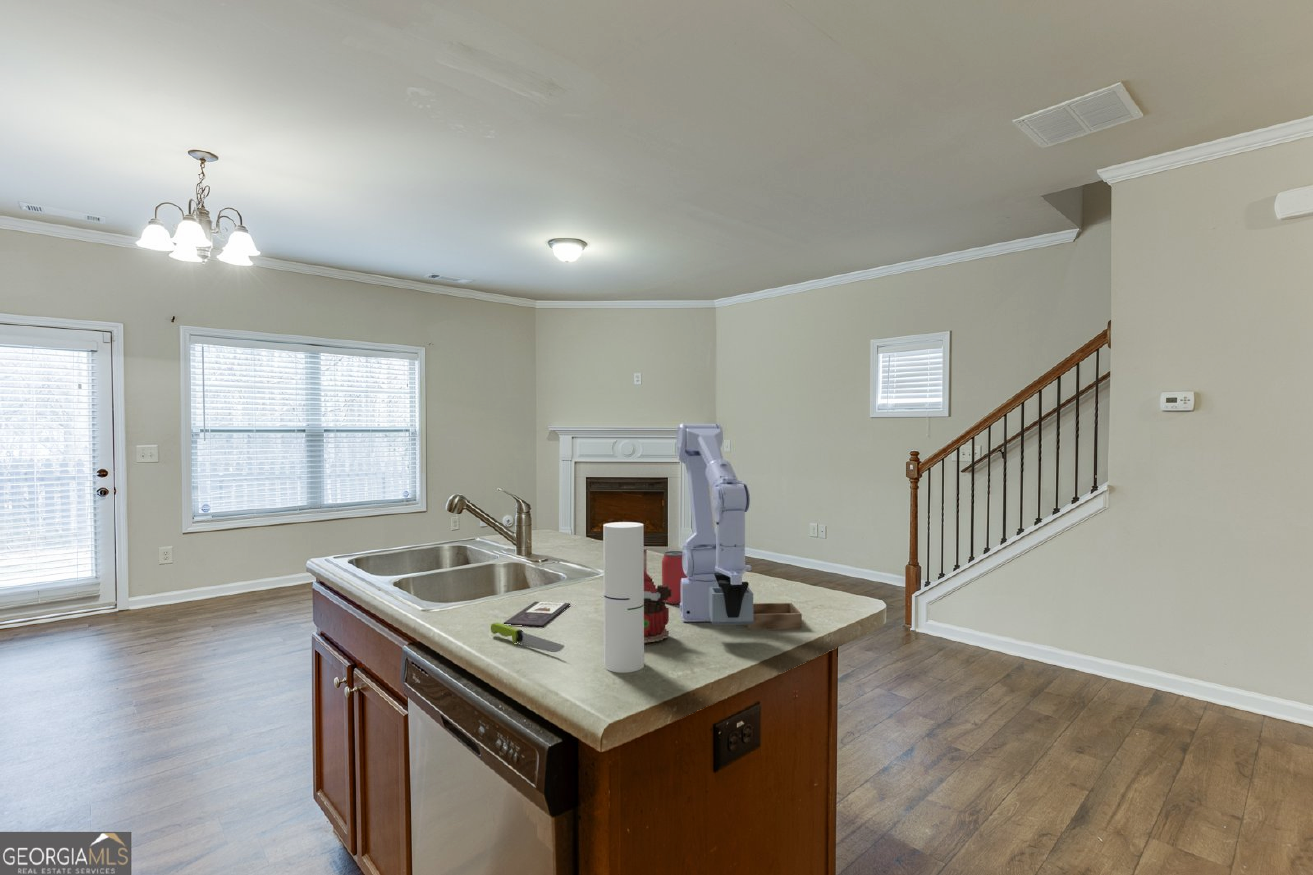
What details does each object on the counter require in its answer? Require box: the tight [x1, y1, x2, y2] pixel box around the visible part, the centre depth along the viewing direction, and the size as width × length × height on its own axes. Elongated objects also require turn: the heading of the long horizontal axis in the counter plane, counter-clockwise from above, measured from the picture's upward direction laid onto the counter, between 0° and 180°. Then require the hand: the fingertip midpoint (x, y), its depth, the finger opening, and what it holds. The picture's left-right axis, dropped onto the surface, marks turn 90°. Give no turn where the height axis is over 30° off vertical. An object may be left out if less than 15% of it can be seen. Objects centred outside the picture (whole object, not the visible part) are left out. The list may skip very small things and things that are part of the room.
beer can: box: [661, 550, 689, 605], centre depth 156 cm, size 7×7×12 cm
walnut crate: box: [744, 602, 803, 631], centre depth 137 cm, size 11×9×4 cm
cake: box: [644, 548, 671, 644], centre depth 127 cm, size 11×9×18 cm
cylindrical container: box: [602, 521, 645, 674], centre depth 112 cm, size 7×7×25 cm
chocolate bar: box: [503, 601, 571, 628], centre depth 144 cm, size 9×1×18 cm
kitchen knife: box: [490, 622, 565, 653], centre depth 122 cm, size 22×1×3 cm, turn 50°
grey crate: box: [709, 586, 754, 626], centre depth 125 cm, size 8×5×6 cm
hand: (730, 612), depth 125 cm, fingers closed on grey crate, 5 cm apart
